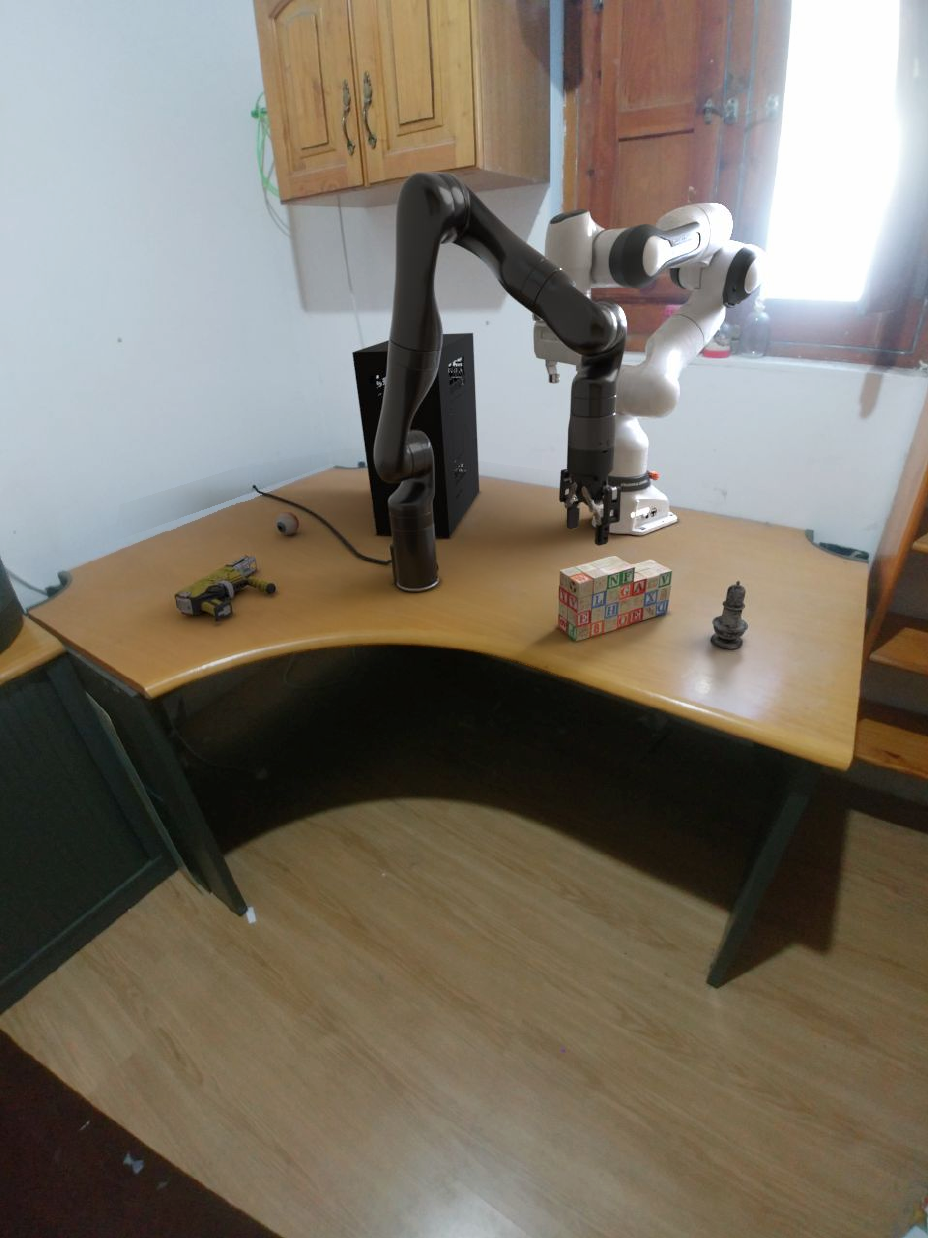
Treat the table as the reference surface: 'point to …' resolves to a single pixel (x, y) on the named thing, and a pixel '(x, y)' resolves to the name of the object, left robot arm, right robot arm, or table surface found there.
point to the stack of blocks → (611, 595)
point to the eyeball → (287, 523)
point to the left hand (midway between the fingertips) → (586, 536)
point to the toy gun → (220, 589)
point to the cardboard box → (428, 430)
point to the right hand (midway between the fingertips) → (565, 385)
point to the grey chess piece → (731, 619)
